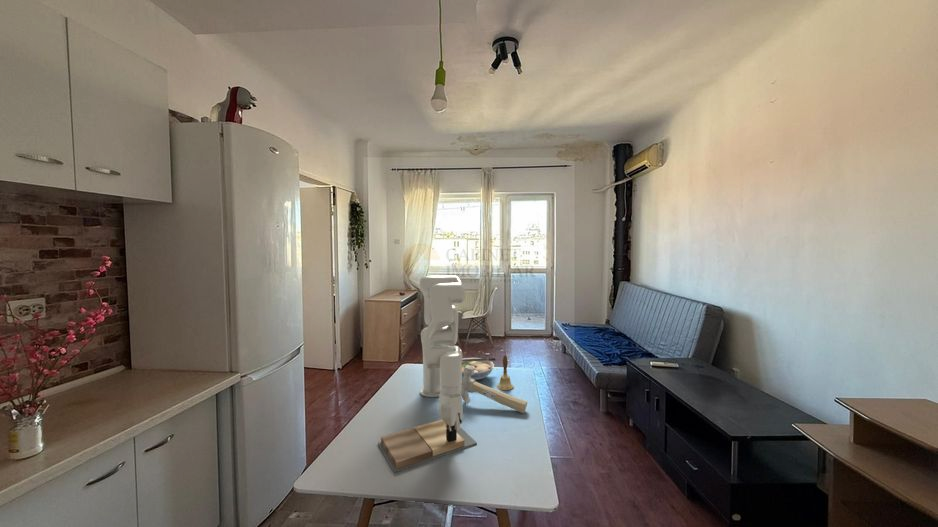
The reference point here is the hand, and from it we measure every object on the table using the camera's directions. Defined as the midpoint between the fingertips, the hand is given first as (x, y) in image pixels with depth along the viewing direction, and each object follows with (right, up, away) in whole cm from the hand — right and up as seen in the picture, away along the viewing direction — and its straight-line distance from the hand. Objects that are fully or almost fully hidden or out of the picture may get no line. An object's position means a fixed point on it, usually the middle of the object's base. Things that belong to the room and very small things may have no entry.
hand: (451, 440), depth 120 cm
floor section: (-9, -3, +2) cm, 9 cm away
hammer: (+16, -1, +31) cm, 35 cm away
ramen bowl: (+8, 0, +63) cm, 63 cm away
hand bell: (+24, 0, +51) cm, 57 cm away
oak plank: (-5, -2, +4) cm, 7 cm away
